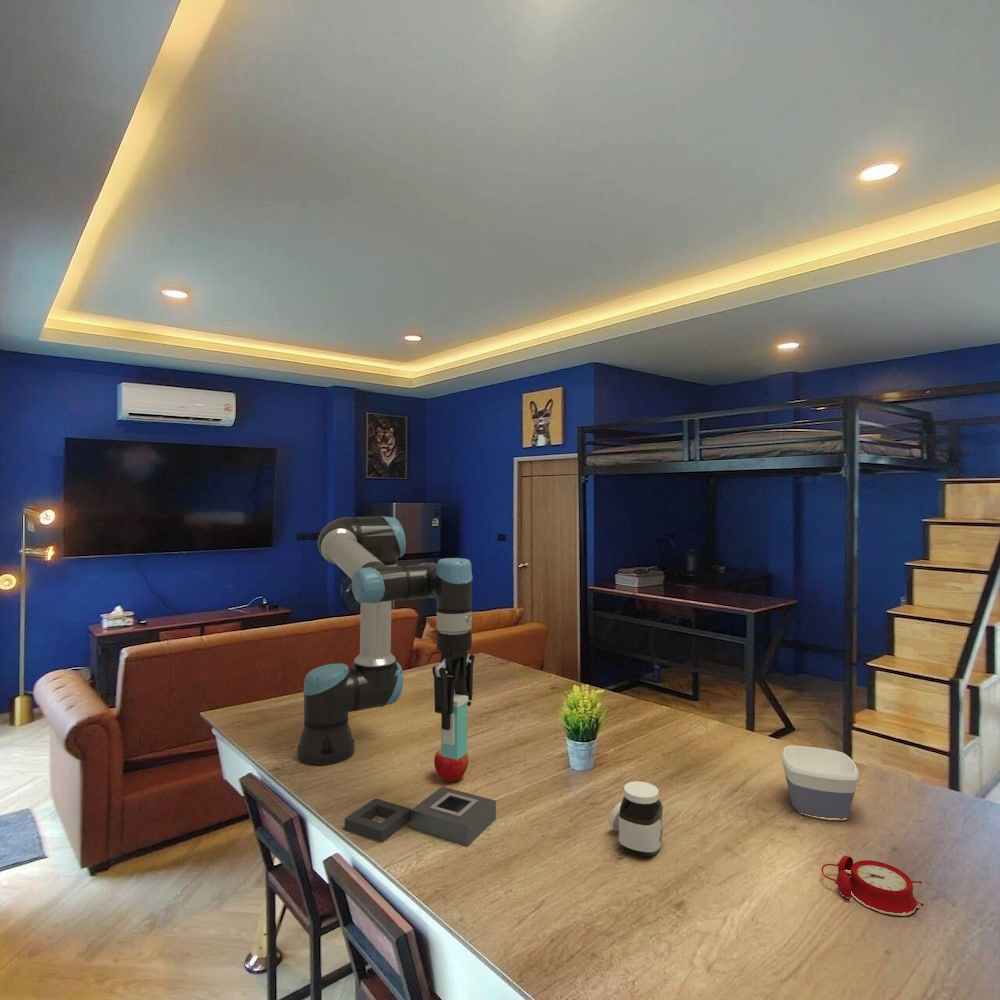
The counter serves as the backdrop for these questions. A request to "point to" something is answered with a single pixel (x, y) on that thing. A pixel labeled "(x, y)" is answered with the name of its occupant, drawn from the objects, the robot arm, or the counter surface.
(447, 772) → the apple
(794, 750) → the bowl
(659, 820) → the spread jar
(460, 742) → the plug
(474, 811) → the port
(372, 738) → the counter surface
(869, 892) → the alarm clock
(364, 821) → the dark grey square frame
